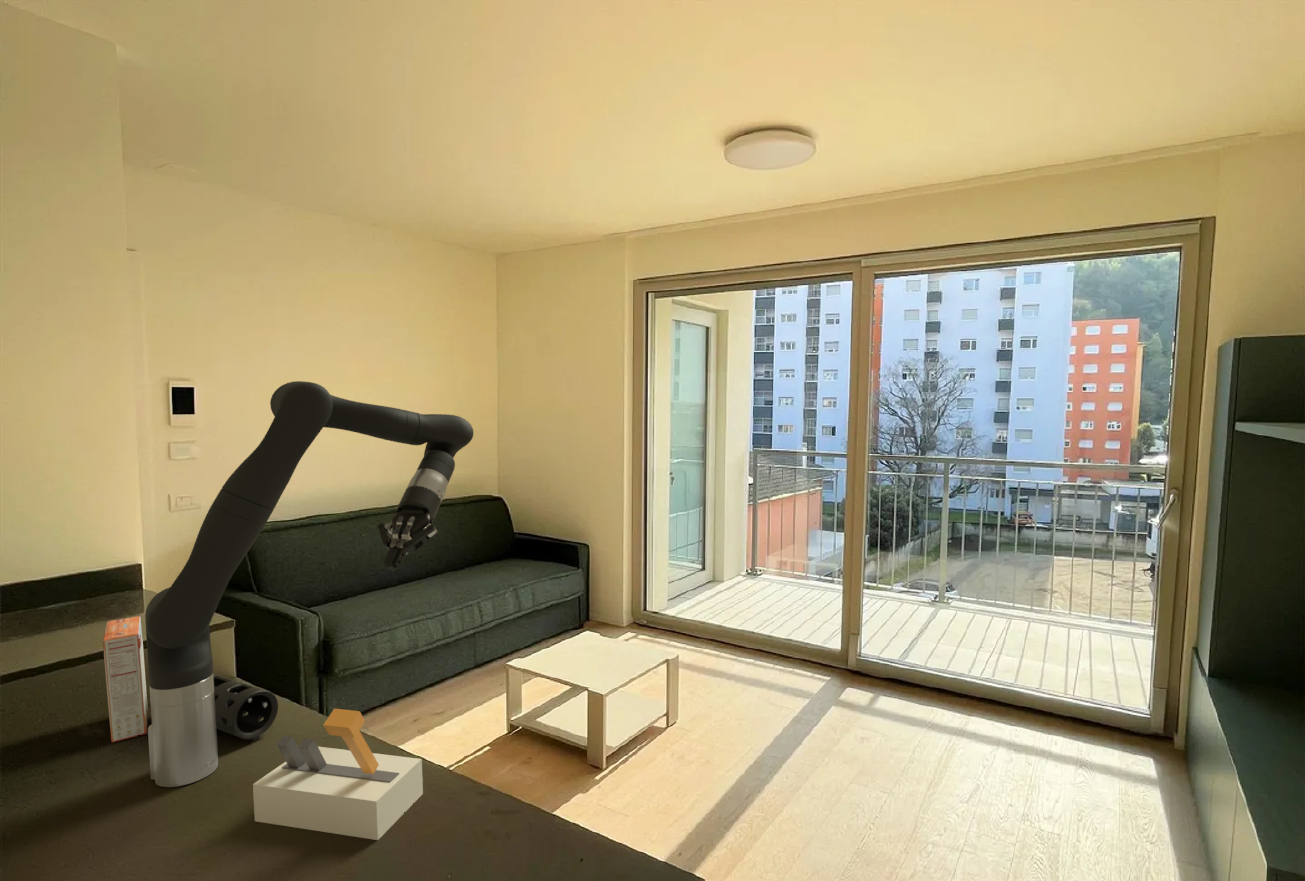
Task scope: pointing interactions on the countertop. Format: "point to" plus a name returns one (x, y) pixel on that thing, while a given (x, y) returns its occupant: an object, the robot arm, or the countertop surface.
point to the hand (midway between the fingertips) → (390, 568)
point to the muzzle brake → (243, 708)
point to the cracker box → (125, 678)
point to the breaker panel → (336, 791)
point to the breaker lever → (352, 736)
